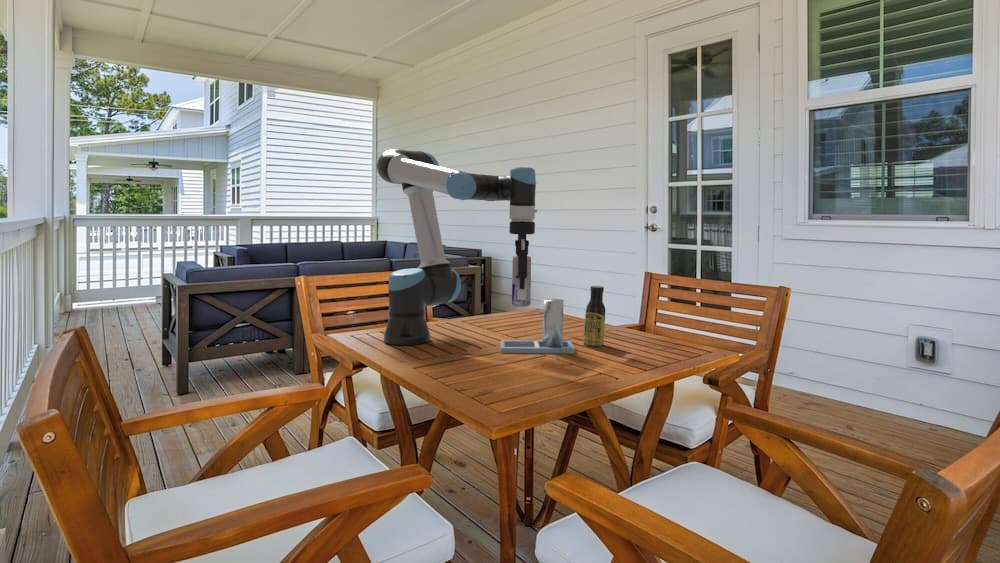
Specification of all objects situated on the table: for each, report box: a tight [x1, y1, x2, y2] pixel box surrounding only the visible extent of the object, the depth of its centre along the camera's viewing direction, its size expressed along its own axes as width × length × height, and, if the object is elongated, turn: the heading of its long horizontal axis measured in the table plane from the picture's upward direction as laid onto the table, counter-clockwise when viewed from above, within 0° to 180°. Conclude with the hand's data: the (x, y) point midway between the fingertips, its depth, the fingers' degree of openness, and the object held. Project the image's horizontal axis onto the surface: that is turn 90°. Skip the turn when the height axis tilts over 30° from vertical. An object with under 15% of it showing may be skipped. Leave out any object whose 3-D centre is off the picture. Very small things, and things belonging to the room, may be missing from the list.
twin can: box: [542, 298, 564, 348], centre depth 165 cm, size 6×6×15 cm
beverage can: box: [511, 255, 532, 308], centre depth 163 cm, size 6×6×15 cm
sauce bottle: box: [583, 285, 606, 348], centre depth 171 cm, size 6×6×20 cm
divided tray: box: [499, 339, 576, 354], centre depth 166 cm, size 22×10×3 cm, turn 91°
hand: (521, 298), depth 164 cm, fingers closed on beverage can, 5 cm apart
